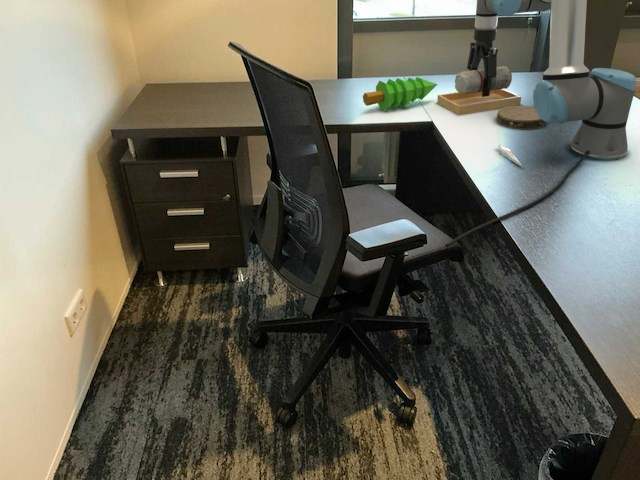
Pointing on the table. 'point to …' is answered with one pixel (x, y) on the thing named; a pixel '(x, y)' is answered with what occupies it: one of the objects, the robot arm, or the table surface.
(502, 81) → the spray can
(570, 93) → the robot arm
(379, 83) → the decorative tree
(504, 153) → the white toy shark
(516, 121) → the brown wooden disc
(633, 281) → the table surface
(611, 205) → the table surface
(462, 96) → the tray
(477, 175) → the table surface
